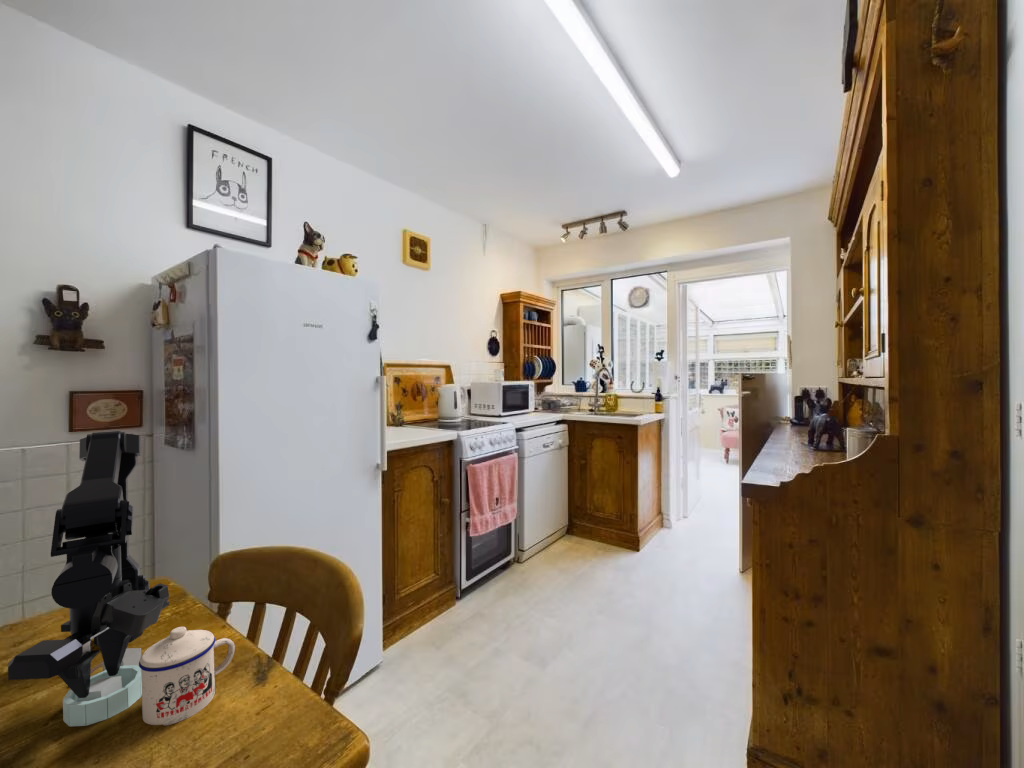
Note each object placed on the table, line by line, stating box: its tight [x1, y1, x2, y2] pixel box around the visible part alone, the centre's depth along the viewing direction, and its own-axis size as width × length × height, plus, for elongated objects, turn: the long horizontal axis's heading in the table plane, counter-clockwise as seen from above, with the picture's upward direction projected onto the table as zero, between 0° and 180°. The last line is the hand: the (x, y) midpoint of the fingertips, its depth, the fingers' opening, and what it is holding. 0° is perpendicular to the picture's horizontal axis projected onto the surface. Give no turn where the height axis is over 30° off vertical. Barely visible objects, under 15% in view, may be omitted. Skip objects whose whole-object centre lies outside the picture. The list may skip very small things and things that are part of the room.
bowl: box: [62, 665, 142, 727], centre depth 65 cm, size 9×9×4 cm
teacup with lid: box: [139, 626, 236, 727], centre depth 66 cm, size 12×9×12 cm
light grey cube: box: [77, 676, 123, 702], centre depth 64 cm, size 3×3×3 cm
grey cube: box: [102, 647, 142, 671], centre depth 72 cm, size 3×3×3 cm
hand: (98, 685), depth 64 cm, fingers open, 4 cm apart
